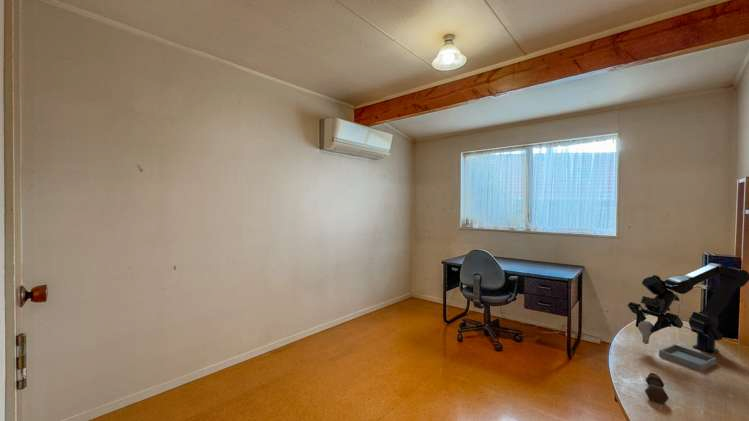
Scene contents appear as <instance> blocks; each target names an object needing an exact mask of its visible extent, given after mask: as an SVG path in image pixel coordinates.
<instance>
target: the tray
mask: <svg viewBox="0 0 749 421" xmlns="http://www.w3.org/2000/svg"><path fill="white" fill-rule="evenodd" d="M658 356H659V357H661V358H663V359H666V360H669V361H672V362H674V363H677V364H680V365H683V366H685V367H688V368H691V369H693V370H696V371H699V372H703V371H704V370H707V369H709V368H711V367H713V366H715V365H716V364H717V357H714V356H712V355H709V354H705V353H703V352H699V351H697V350H694V349H691V348H687V347H684V346H682V345H679V344H675V343H674V344H672V345H669V346H667V347H664V348H661V349H659V350H658Z"/></svg>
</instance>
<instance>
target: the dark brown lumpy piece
mask: <svg viewBox="0 0 749 421" xmlns="http://www.w3.org/2000/svg"><path fill="white" fill-rule="evenodd" d="M645 382H646V384H647V386H648V387H647V388H646V389H644V393H645V394H646V396H647V398H648V399H649V401H651V402H653V403H657V404H660V405H664V404H665V403H667V401H669V398H670V397H669V396H668V393H667V392H666V390H665V389H664V387H665V383H664V382H663V380H662V378H661V377H660V376H659V375H658V374H656V373H652V372H651V373H649V374H648V376H647V377H645Z"/></svg>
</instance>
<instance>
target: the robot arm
mask: <svg viewBox="0 0 749 421" xmlns="http://www.w3.org/2000/svg"><path fill="white" fill-rule="evenodd" d="M716 276H718V277H717V278H718V282H719V284H718V285H717V287H716V289H715V290H714V292H713V293H712V295H711V296H710V297H709V300H708V301H707V303H706V304H705V305H704V307H703V309H702V310H701V311H699V312H697V311H693V312H692V314H691V316H690V317H689V318H688V319H689V320H688V324H689V327H690V330H691V332H694V333H696V344H694V345H692V347H693V348H694V349H697V350H701V351H704V352H706V353H710V354H714V353H716V352H719V349H718V348H716V341H719V340H720V341H722V339H723V337H724V334H722V332H721V331H720V330H719V329H718V327H719V325H720V324H719V320H718V317H719V316H720V314H721V313H722V311H723V309H724V307H726V305H727V303H728V301H729V300H730V298H732V295H733V294H734V293H735V291H736V290H737V289H739V288H740V289H741V288H742V287H744V286H745V285H746V284H747V283H748V281H749V272H748V271H747V270H745V269H742V268H741V269H740V268H735V267H731V266H726V265H723V264H720V263H714V262H709V263H708V264H707V265H704V266H703V267H701V268H698V269H696V270H694V271H691V272H689V273H687V274H685V275H675V276H671V277H668V278H667V279H664V280H662V279H661V277H660V276H659V275H657V274H653V275H652V276H647V277H646V278H645V277H644V279H643V280H642V281H641V284H642V286H644V287H645V289H646V290H647V291H648V292H650V293H651V294H652V295H655V297H648V296H645V295H643V296H642V298H641V300H640V303H637V302H633V301H630V302H629V303H628V304H627V307H628V309H630V311H631V312H632V314H636V319H635V320H636V321H635V327H636V328H638V324H639V323H640V322H641V321H646V319H647V317H646V314H647V315H649V316H651V317H654V318H655V317H656V318H657V319H656V322H655V323H654V324H653V327H652V329H651V333H652V334H654V333H656V332H658V331H661V330H663V329H666V328H669V327H670V328H672V327H675V328H678V329H682V328H683V326H684V322H683V321H682V319H681V318H680V316H679V315H677V314H674V313H670V310H671V307H670V306H672V303H673V302H674V301H676V302H680V298H679V294H680V295H686V294H687V293H689V292H690V291H692V290H693V289H694V287H695V286H696V285H698V284H700V283H702V282H705V281H706V280H709V279H711V278H714V277H716ZM675 293H677V294H675ZM641 304H643V305H644V307H642V305H641Z"/></svg>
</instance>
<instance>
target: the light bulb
mask: <svg viewBox="0 0 749 421" xmlns="http://www.w3.org/2000/svg"><path fill="white" fill-rule="evenodd" d="M653 326H654V324H653V323H651V322H650V321H648V320H644V321H641V322H640V323H639V324H638V327H637V329H638V330H639V332H640V334H641V337H642V338H641V339H642V340H641V342H642V343H643V344H644V345H648V344H650V343H649V341H650V338H651V336H652V334H653V333H651V329H652V327H653Z"/></svg>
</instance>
